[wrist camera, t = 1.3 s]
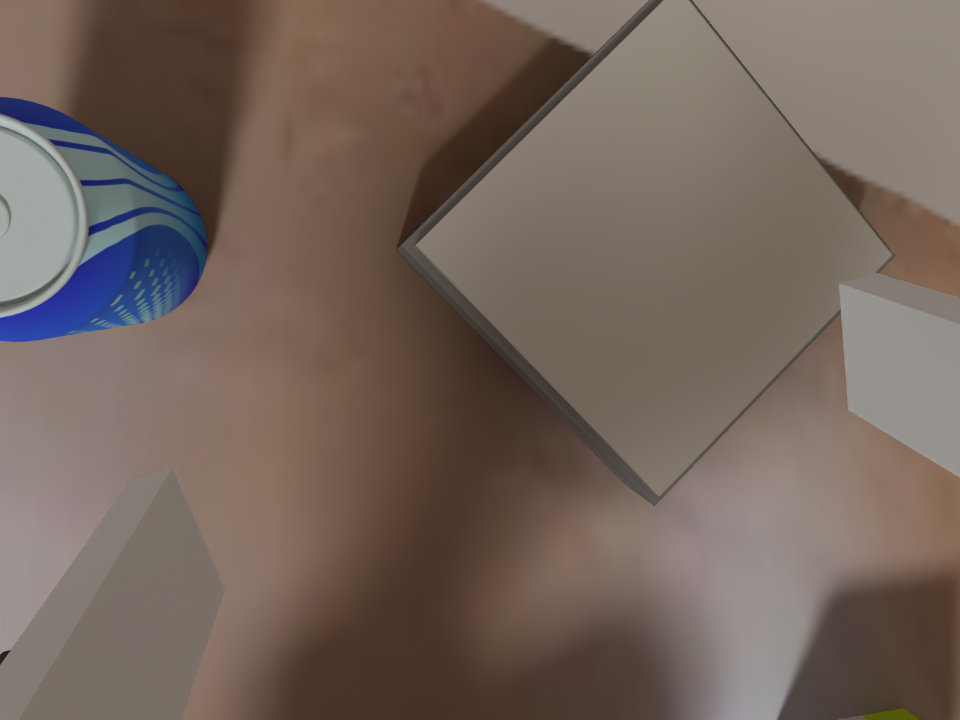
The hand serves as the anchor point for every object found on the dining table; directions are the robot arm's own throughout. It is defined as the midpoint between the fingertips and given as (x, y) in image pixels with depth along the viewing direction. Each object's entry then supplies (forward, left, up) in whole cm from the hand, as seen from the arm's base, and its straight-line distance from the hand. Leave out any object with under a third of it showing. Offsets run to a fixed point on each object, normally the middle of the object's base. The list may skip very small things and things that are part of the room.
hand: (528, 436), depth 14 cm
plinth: (+13, -6, -28) cm, 31 cm away
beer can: (-7, +14, -28) cm, 32 cm away
